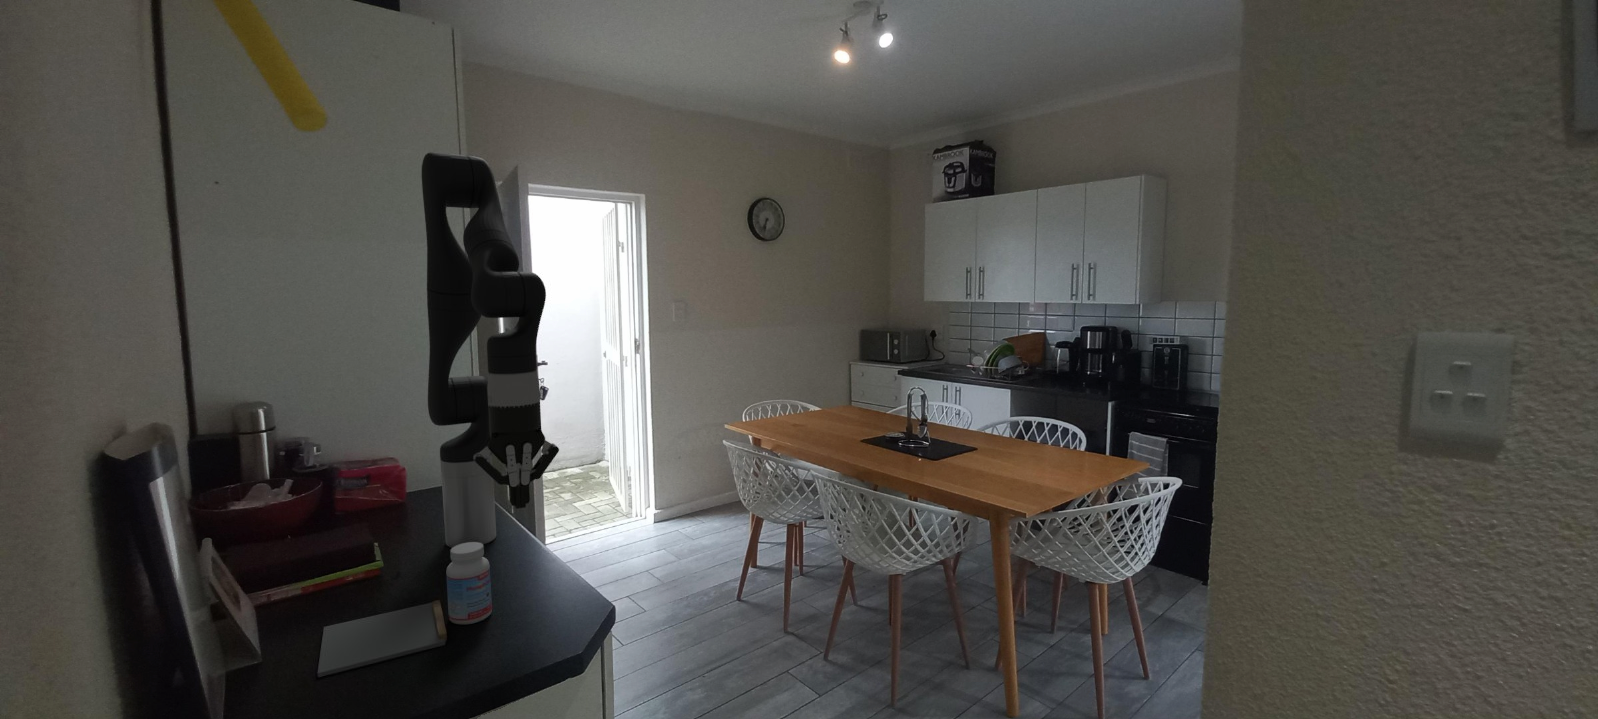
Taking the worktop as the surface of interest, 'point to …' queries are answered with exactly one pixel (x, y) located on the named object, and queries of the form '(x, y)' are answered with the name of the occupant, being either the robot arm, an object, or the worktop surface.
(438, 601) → the bar
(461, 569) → the pill bottle
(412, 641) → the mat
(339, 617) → the worktop surface
